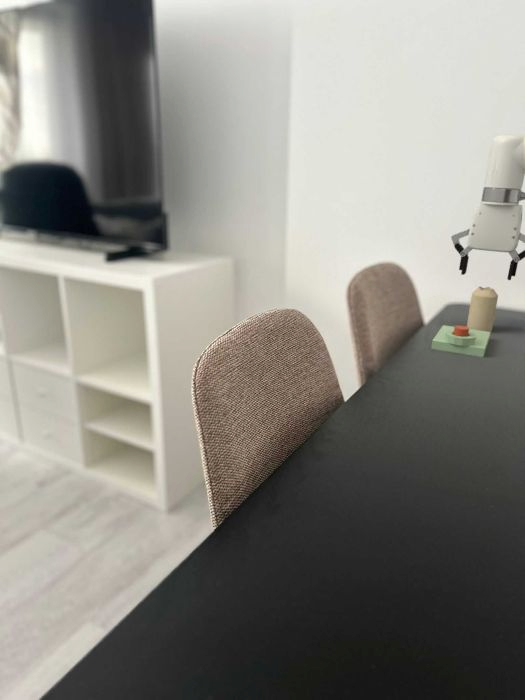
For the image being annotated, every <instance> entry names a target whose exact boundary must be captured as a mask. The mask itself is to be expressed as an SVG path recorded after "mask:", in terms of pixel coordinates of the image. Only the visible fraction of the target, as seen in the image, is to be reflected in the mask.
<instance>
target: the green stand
mask: <svg viewBox="0 0 525 700" xmlns="http://www.w3.org/2000/svg"><path fill="white" fill-rule="evenodd" d="M454 327H455V326H450V325H446V324H445V325H444V324H443V325H442V326H441V328H440V329H439V331H438V332H437V333H436V335H435V336H434V337H433V339H432V342H431V350H437V351H443V352H447V353H448V352H449V353H454V354H461V355H468V356H471V357H472V356H474V357H478V358H484V357H485V354H486V351H487V348H488V345H489V342H490V338H491V333H492V331H491V332H487V331H480V330H473V329H469V333H468V336H467V337H461V336H456V335H453V334H454Z"/></svg>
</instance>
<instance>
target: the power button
mask: <svg viewBox="0 0 525 700" xmlns="http://www.w3.org/2000/svg"><path fill="white" fill-rule="evenodd" d="M453 327H454V334H453V335H456V336H461V337H467V336H468V333H469V328H468V327H467V325H454V326H453Z"/></svg>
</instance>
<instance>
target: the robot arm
mask: <svg viewBox="0 0 525 700" xmlns="http://www.w3.org/2000/svg"><path fill="white" fill-rule="evenodd" d="M524 180H525V135H523V134H500V135H497V136H495V137H494V138H493V139H492V140H491V144H490V149H489V154H488V160H487V166H486V171H485V177H484V183H483V188H482V194H481V198H480V199H481V201H480V202H476V206H475V209H474V212H473V215H472V218H471V222H470V223H471V224H470V227H469V228H467V229H464V230H463V231H459V232H457V233H454V234H452V235H451V241H452V244H453V246H454V249H455V250H456V251H457V253H458V254H459V256H460V262H459V267H458V270H459V271H461V273H460V275H462V276H464V275H465V274H467V271H468V270H467V269H468V264H469V259H470V258H469V253H470V252H471V251H472V250H477V251H488V252H495V253H496V252H498V253H508V254H509V256H510V257H511V259H512V260H510V263H509V269H508V274H507V278H506V280H507V281H511V280H512V277H516V274H517V269H518V264H519V262H520V261H522V260H523V259H525V249H523V250H522V251H521V252H520V253H519V252H518V251H517V250H516V249H517V247H518V245H519V241H520V242H522V243H524V244H525V234H524V233H522V232H521V230H522V222H523V205H522V204H520V202H521V201H525V191H523V190H522V189H523V186H524V185H523V184H524ZM464 237H467V244H466V245H467V246H466V247H465V248H464V247H463V245H462V244H461V242H460V239H462V238H464Z"/></svg>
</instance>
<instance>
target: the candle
mask: <svg viewBox="0 0 525 700" xmlns="http://www.w3.org/2000/svg"><path fill="white" fill-rule="evenodd" d="M498 299H499V294H498V293H497V292H496V290H495V289H494V288H491V287H490V286H486V287H482V286H478V287H477V288H476V289H475V290H474V291H472V292H471V298H470V303H469V309H468V316H467V321H466V322H467V324H466V327H468V328H469V329H473V330H480V331H487V332H491V333H492V331H493V327H494V321H495V317H496V310H497V305H498Z"/></svg>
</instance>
